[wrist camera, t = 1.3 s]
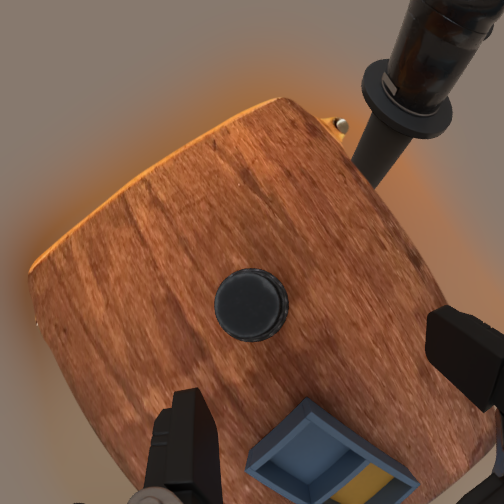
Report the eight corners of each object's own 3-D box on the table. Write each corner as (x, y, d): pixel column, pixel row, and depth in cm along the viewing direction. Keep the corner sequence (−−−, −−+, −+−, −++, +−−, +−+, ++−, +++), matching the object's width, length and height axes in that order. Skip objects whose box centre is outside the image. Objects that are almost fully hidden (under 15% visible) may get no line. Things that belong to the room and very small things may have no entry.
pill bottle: (286, 276, 32) (290, 261, 21) (287, 333, 31) (291, 347, 20) (229, 277, 32) (204, 262, 21) (229, 333, 31) (204, 346, 20)
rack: (306, 396, 29) (311, 411, 24) (406, 467, 26) (420, 484, 21) (248, 450, 28) (244, 471, 24) (353, 513, 25) (360, 534, 20)
